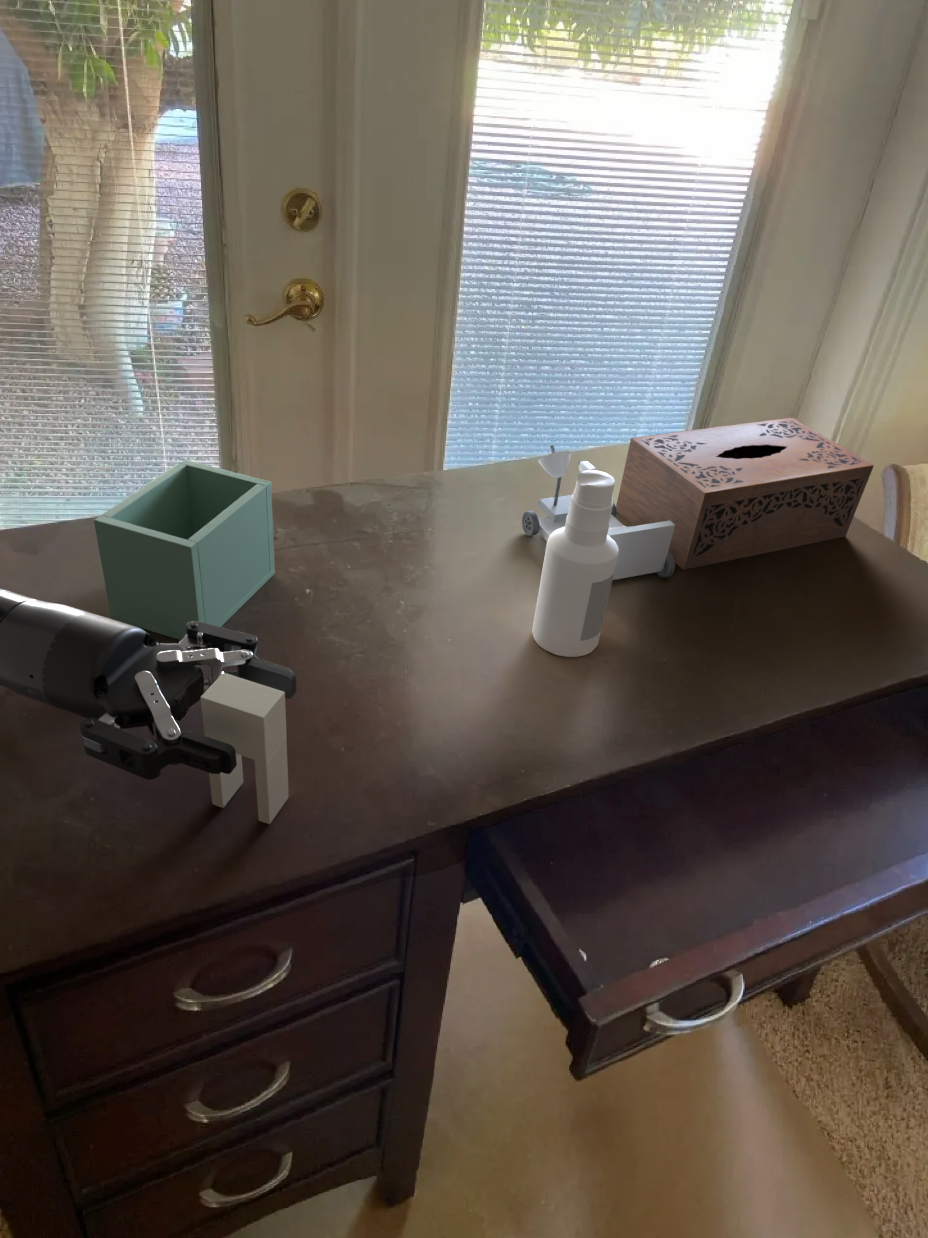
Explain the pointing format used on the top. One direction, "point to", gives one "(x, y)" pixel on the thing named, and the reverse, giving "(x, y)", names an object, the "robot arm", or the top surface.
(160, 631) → the bin
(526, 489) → the top surface
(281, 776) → the clip
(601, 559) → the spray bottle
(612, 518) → the toy car
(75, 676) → the robot arm
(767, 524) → the tissue box cover
